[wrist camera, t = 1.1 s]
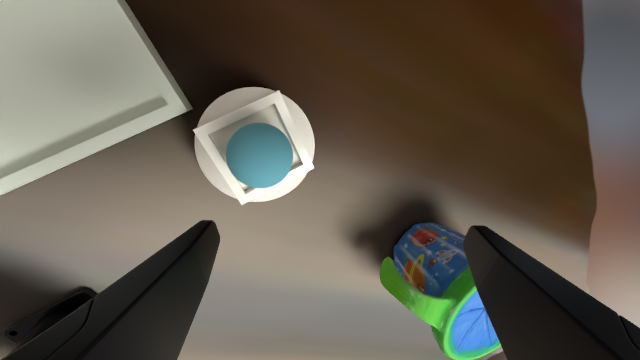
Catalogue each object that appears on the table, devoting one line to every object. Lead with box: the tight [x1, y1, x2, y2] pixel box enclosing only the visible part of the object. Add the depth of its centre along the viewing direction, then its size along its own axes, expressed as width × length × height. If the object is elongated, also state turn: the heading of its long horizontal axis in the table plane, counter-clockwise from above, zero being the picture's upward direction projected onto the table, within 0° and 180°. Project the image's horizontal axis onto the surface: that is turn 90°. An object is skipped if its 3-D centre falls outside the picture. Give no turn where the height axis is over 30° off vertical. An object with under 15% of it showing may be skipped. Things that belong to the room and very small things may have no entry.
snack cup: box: [380, 222, 501, 360], centre depth 25 cm, size 16×11×10 cm
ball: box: [226, 123, 293, 188], centre depth 15 cm, size 4×4×4 cm
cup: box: [193, 87, 315, 205], centre depth 18 cm, size 8×8×4 cm
